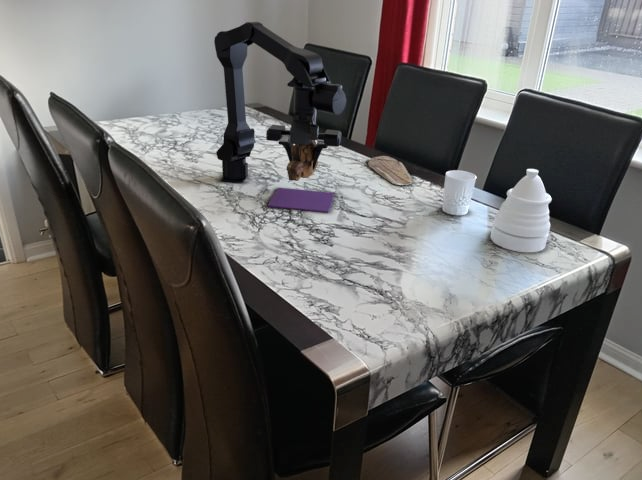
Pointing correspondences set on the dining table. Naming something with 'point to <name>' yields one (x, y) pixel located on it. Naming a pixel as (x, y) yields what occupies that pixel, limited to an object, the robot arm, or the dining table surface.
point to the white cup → (458, 192)
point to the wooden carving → (302, 161)
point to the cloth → (302, 200)
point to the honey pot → (523, 216)
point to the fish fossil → (390, 170)
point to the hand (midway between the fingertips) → (302, 168)
